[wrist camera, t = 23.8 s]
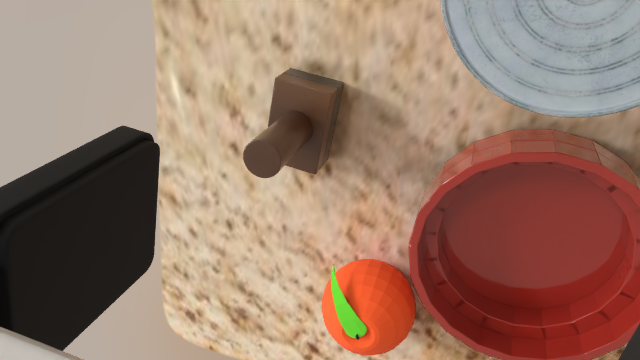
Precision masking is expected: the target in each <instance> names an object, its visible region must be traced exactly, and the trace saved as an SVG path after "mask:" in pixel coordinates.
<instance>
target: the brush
mask: <svg viewBox="0 0 640 360" xmlns="http://www.w3.org/2000/svg"><path fill="white" fill-rule="evenodd" d="M343 84H344V83H343V82H340V81H336V80H332V79H329V78H325V77H321V76H317V75H314V74H310V73H306V72H303V71H299V70H295V69H292V68H290V69H289V70H287V71H285V72H284V73H282V74H281V75H279V76H278V77H276V78H275V83H274V90H273V97H272V103H271V110H270V117H269V123H268V128H267V129H266V130H264V131H263V132H262V133H261V134H260V135H258V136H257V137H256V138H255V139H253V140H252V141H251V142H250V143H249V144H248V145H247V146H246V147H245V149H244V153H243V159H244V163H245V165H246V167H247V168H248V170H249V171H250V172H251V173H252V174H254V175H256V176H258V177H261V178H270V177H272V176H274V175H276V174H277V173H278V172H279V171H280V170H281V169H282V168H283V167H284V165H286V166H289V167H293V168H296V169H299V170H303V171H306V172H309V173H312V174H316V173H317V172H318V171H319V170H320V168H321V167H322V166H323V165H324V163H325V162H326V161H327V160H328V156H329V151H330V147H331V142H332V137H333V132H334V127H335V123H336V118H337V113H338V108H339V103H340V99H341V94H342V89H343Z"/></svg>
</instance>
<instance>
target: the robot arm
mask: <svg viewBox="0 0 640 360" xmlns="http://www.w3.org/2000/svg"><path fill="white" fill-rule="evenodd" d="M159 158H160V148H159V145H158V144H157V143H154V140H153V137H152V135H151V134H149V133H146V132H143V131H139V130H136V129H133V128H130V127H126V126H120V127H118V128H116V129H114V130H112V131H110V132H108V133H106V134H104V135H102V136H100V137H98V138H96V139H94V140H92V141H91V142H88V143H86V144H84V145H83V146H81V147H79V148H77V149H75V150H73V151H71V152H69V153H67V154H65V155H63V156H61V157H59V158H57V159H55V160H53V161H51V162H49V163H47V164H45V165H43V166H41V167H39V168H37V169H35V170H33V171H32V172H30V173H28V174H26V175H24V176H22V177H20V178H18V179H16V180H14V181H12V182H10V183H8V184H6V185H4V186H2V187H0V360H83V359H80V358H78V357H76V356H73V355H71V354H68V353H65V352H63V350H64V349H65V348H66V347H67V346H68V345H69V344H70V343H71V342H72V341H73V340H74V339H75V338H77V337H78V336H79V335H80V334H81V333H82V332H83V331H84V330H85V329H86V328H87V327H88V326H89V325H90V324H91V323H92V322H93V321H94V320H96V319H97V318H98V317H99V316H100V315H101V314H102V313H103V312H104V311H105V310H106V309H107V308H108V307H109V306H110V305H111V304H112V303H113V302H115V301H116V300H117V299H118V298H119V297H120V296H121V295H122V294H123V293H124V292H125V291H126V290H127V289H128V288H129V287H130V286H131V285H132V284H134V283H135V282H136V281H137V280H138V279H139V278H140V277H141V276H142V275H143V274H144V273H145V272H146V271H147V270H148V268H149V267H150V265H151V263H152V260H153V257H154V246H155V228H156V211H157V193H158V176H159ZM619 360H640V324H639V325H638V327H637V329H636V331H635V332H634V334H633V336H632V337H631V339H630V341H629V343H628V344H627V346H626V348H625V350H624V351H623V353H622V355H621V357H620V358H619Z"/></svg>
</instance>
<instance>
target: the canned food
mask: <svg viewBox="0 0 640 360" xmlns="http://www.w3.org/2000/svg"><path fill="white" fill-rule="evenodd" d="M441 8H442V14H443V18H444V23H445V26H446V29H447V32H448V35H449V38H450V40H451V42H452V45H453V47H454V49H455V50H456V52H457V54H458V56H459V57H460V59H461V60H462V62H463V63H464V65H465V66H466V67H467V69H468V70H469V71H470V72H471V73H472V74H473V76H474V77H475V78H476V79H477V80H478V81H479V82H480V83H482V84H483V85H484V86H485V87H486V88H487V89H489V90H490V91H491V92H493V93H494V94H496V95H497V96H499V97H500V98H502V99H504V100H505V101H507V102H509V103H512V104H514V105H516V106H518V107H521V108H523V109H526V110H529V111H532V112H536V113H540V114H544V115H550V116H556V117H568V118H583V117H594V116H602V115H607V114H613V113H617V112H620V111H624V110H628V109H631V108H634V107H636V106H639V105H640V0H441Z"/></svg>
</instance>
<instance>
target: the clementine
mask: <svg viewBox="0 0 640 360" xmlns="http://www.w3.org/2000/svg"><path fill="white" fill-rule="evenodd" d="M322 313H323V318H324V323H325V325H326V327H327V329H328V331H329V333H330V334H331V335H332V337H333V338H334V339H335V340H336V341H337V342H338V343H339V344H340V345H341V346H342V347H344V348H345V349H347V350H349V351H351V352H353V353H357V354H361V355H376V354H382V353H386V352H388V351H390V350H392V349H394V348H395V347H396V346H397V345H399V344H400V343H401V342H402V341H403V340H404V339H405V338H406V337H407V335H408V333H409V331H410V329H411V327H412V325H413V323H414V318H415V313H416V304H415V297H414V294H413V291H412V289H411V287H410V285H409V283H408V281H407V280H406V278H405V277H404V276H403V275H402V273H401V272H399V271H398V270H397V269H396V268H394V267H393V266H391V265H389V264H387V263H385V262H382V261H378V260H373V259H362V260H358V261H355V262H352V263H349V264H347V265H345V266H344V267H342V268H340V269H339V270H338V271H337V272H336V273H335V269H334V264H333V270H332V276H331V279H330V280H329V282H328V284H327V286H326V288H325V291H324V294H323V298H322Z"/></svg>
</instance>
